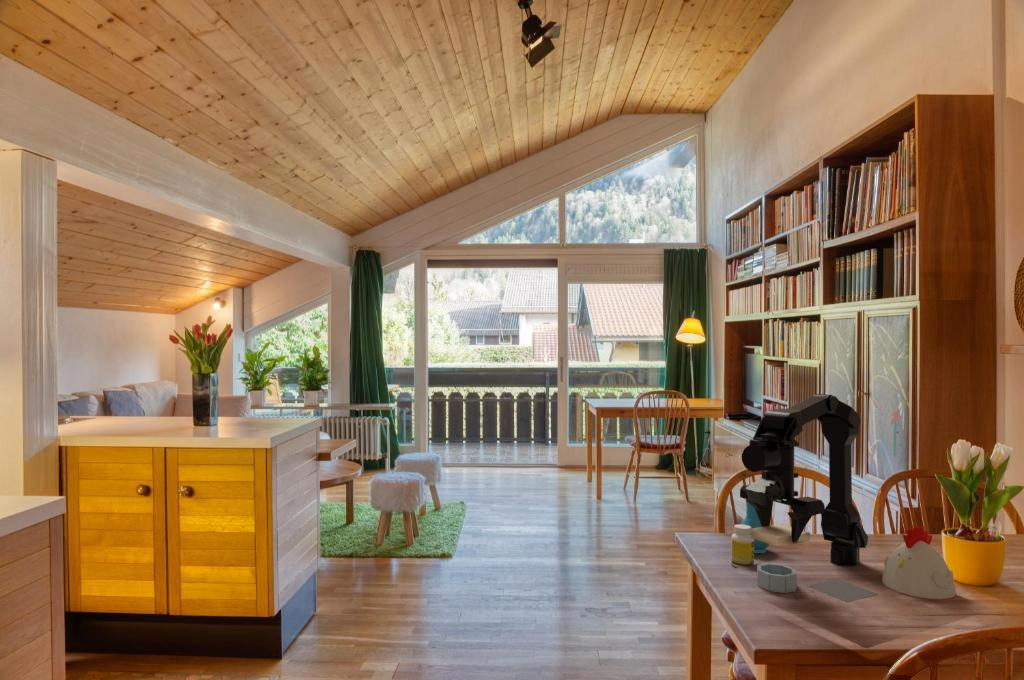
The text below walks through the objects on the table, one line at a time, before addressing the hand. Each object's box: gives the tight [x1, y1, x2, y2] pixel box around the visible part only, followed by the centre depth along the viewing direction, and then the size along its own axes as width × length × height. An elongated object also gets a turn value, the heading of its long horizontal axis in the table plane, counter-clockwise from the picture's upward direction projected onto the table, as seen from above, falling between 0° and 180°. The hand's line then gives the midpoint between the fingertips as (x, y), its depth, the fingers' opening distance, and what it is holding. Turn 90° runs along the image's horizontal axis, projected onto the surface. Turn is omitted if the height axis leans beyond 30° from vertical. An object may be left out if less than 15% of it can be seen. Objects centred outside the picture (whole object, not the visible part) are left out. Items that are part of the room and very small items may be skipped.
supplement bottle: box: [730, 523, 755, 569], centre depth 159 cm, size 5×5×10 cm
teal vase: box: [740, 499, 770, 554], centre depth 171 cm, size 9×9×15 cm
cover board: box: [750, 523, 811, 548], centre depth 141 cm, size 10×8×2 cm
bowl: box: [756, 562, 797, 594], centre depth 142 cm, size 8×8×5 cm
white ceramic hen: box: [881, 525, 957, 601], centre depth 141 cm, size 14×14×15 cm
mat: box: [806, 578, 879, 603], centre depth 139 cm, size 10×10×2 cm
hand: (779, 537), depth 141 cm, fingers closed on cover board, 7 cm apart
